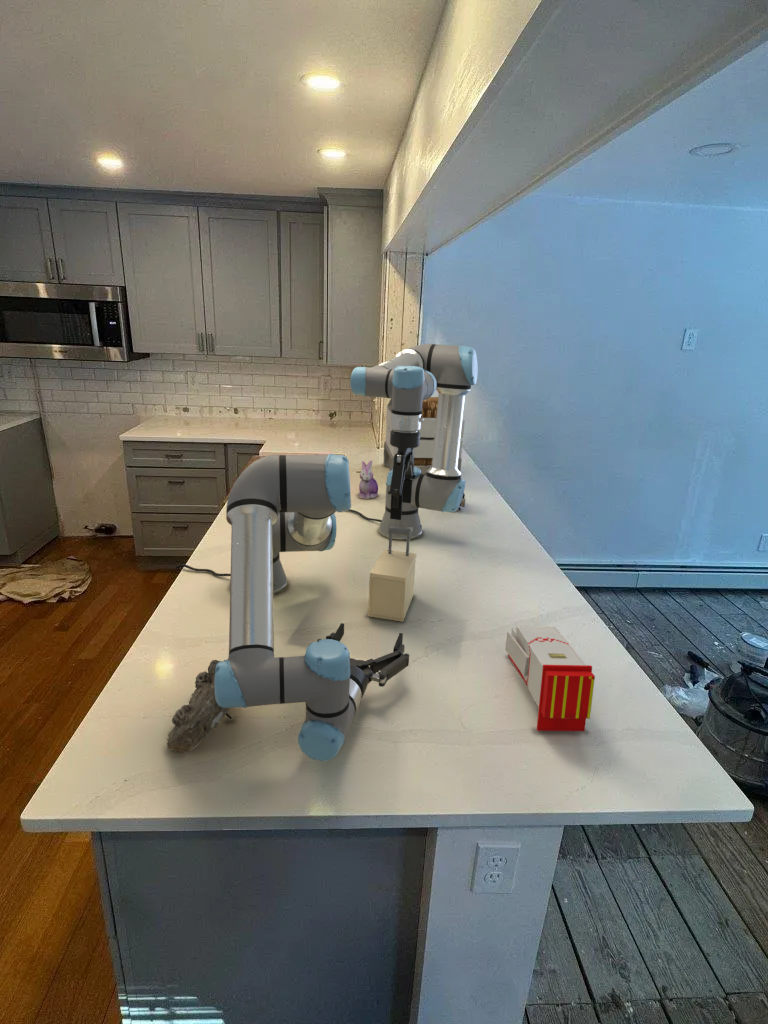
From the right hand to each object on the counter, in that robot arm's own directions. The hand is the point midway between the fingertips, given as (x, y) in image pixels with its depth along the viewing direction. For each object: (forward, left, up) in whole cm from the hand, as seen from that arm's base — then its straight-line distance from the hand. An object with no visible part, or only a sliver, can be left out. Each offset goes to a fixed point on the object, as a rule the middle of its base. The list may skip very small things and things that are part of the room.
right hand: (401, 510), depth 148 cm
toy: (+49, -2, -25) cm, 55 cm away
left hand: (+18, -24, -19) cm, 35 cm away
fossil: (+16, -61, -25) cm, 68 cm away
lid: (+3, -4, -14) cm, 15 cm away
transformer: (-86, +92, -25) cm, 129 cm away
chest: (+4, -5, -25) cm, 26 cm away
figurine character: (-42, +70, -25) cm, 85 cm away
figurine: (-72, +49, -25) cm, 91 cm away
